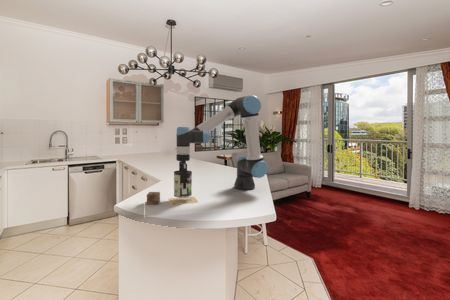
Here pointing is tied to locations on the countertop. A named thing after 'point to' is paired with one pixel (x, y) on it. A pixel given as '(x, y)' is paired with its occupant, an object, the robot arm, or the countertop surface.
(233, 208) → the countertop surface
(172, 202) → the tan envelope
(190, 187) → the coffee can
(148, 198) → the walnut block
